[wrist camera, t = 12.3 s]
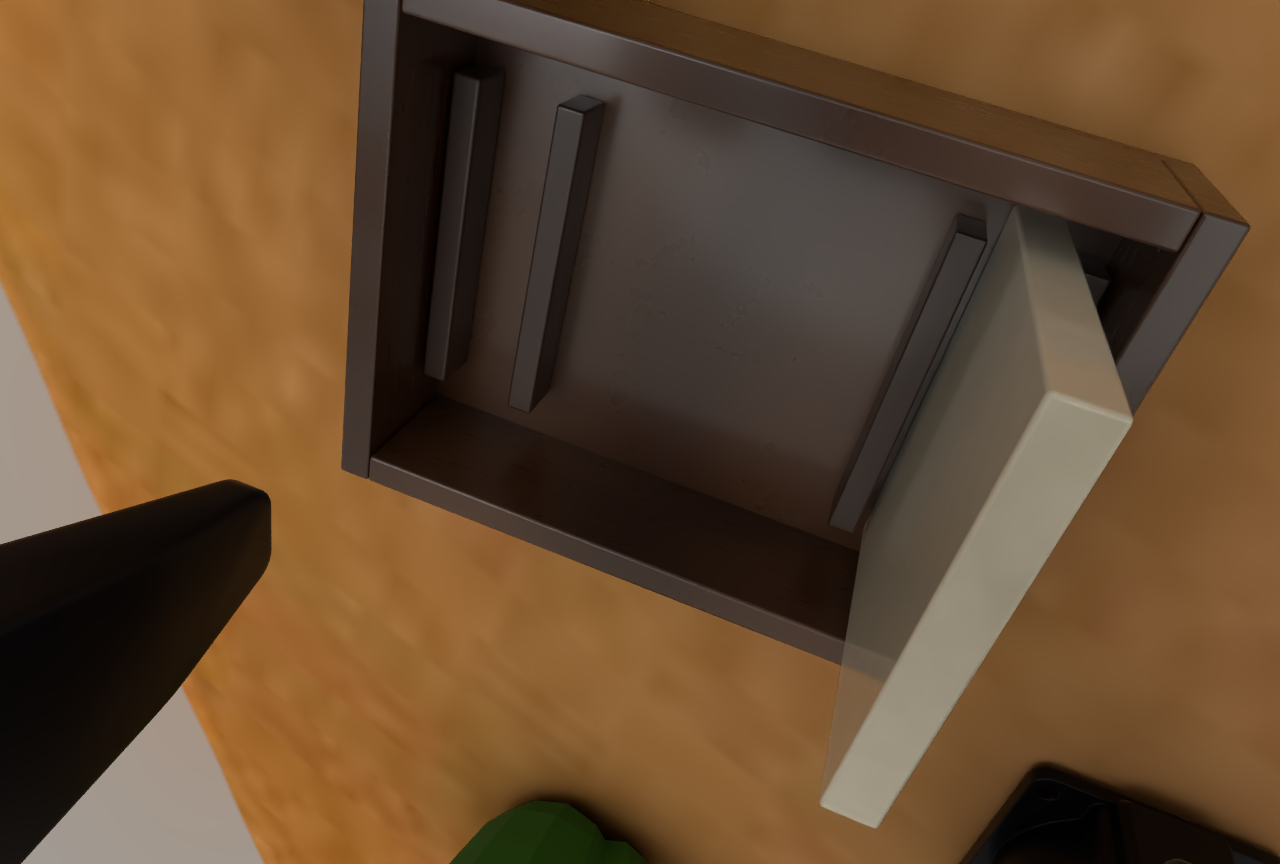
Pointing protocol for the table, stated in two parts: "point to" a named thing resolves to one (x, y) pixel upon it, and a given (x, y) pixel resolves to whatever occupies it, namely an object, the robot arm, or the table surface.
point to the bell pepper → (544, 839)
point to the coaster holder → (701, 284)
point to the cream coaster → (972, 506)
